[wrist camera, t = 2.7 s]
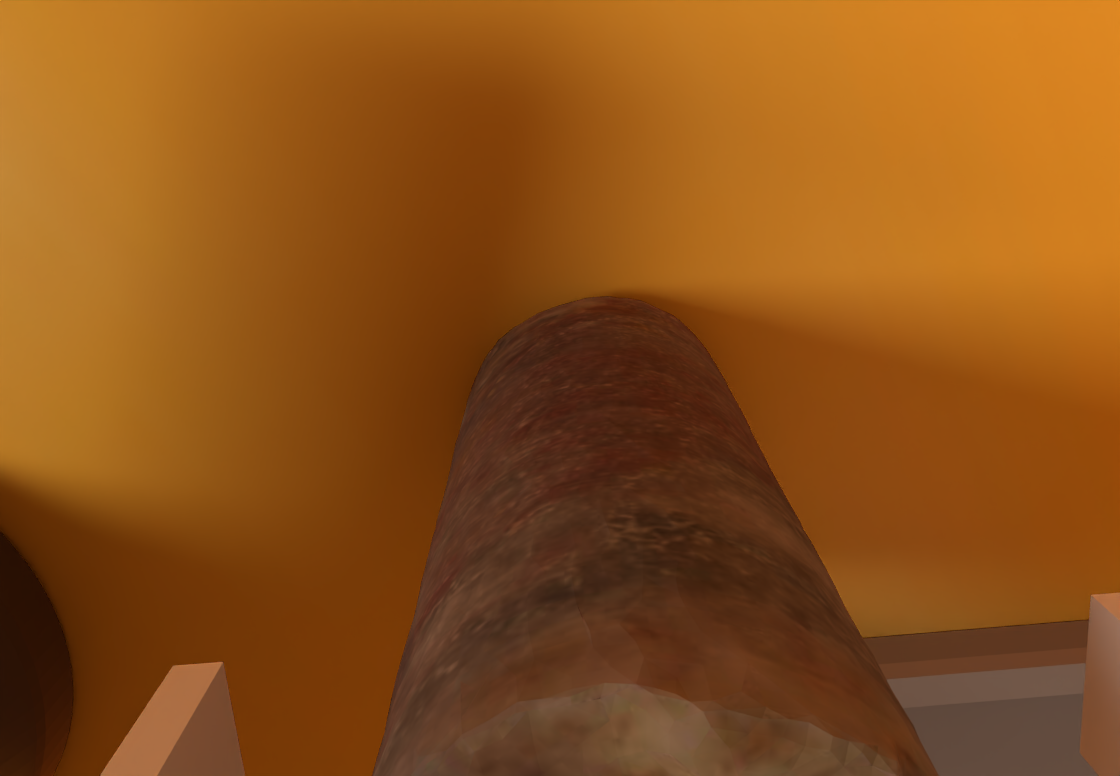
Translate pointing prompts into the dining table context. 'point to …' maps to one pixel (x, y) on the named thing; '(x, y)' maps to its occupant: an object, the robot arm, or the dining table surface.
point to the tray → (993, 697)
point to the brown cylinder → (627, 581)
